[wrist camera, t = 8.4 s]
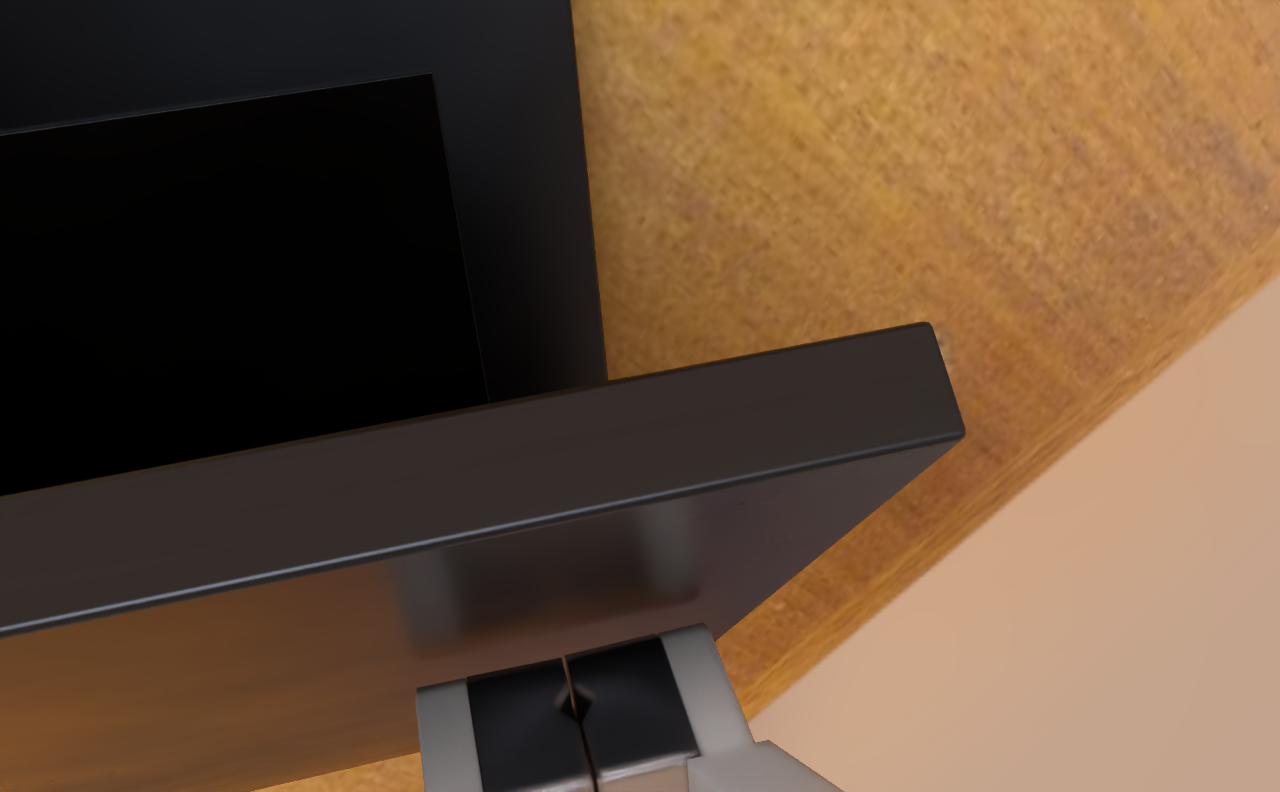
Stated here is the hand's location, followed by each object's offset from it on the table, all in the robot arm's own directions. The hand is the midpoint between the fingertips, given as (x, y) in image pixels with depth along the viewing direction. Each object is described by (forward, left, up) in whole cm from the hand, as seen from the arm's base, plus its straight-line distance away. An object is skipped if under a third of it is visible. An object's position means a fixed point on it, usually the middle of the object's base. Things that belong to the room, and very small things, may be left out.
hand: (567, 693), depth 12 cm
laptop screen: (+12, +3, -4) cm, 14 cm away
